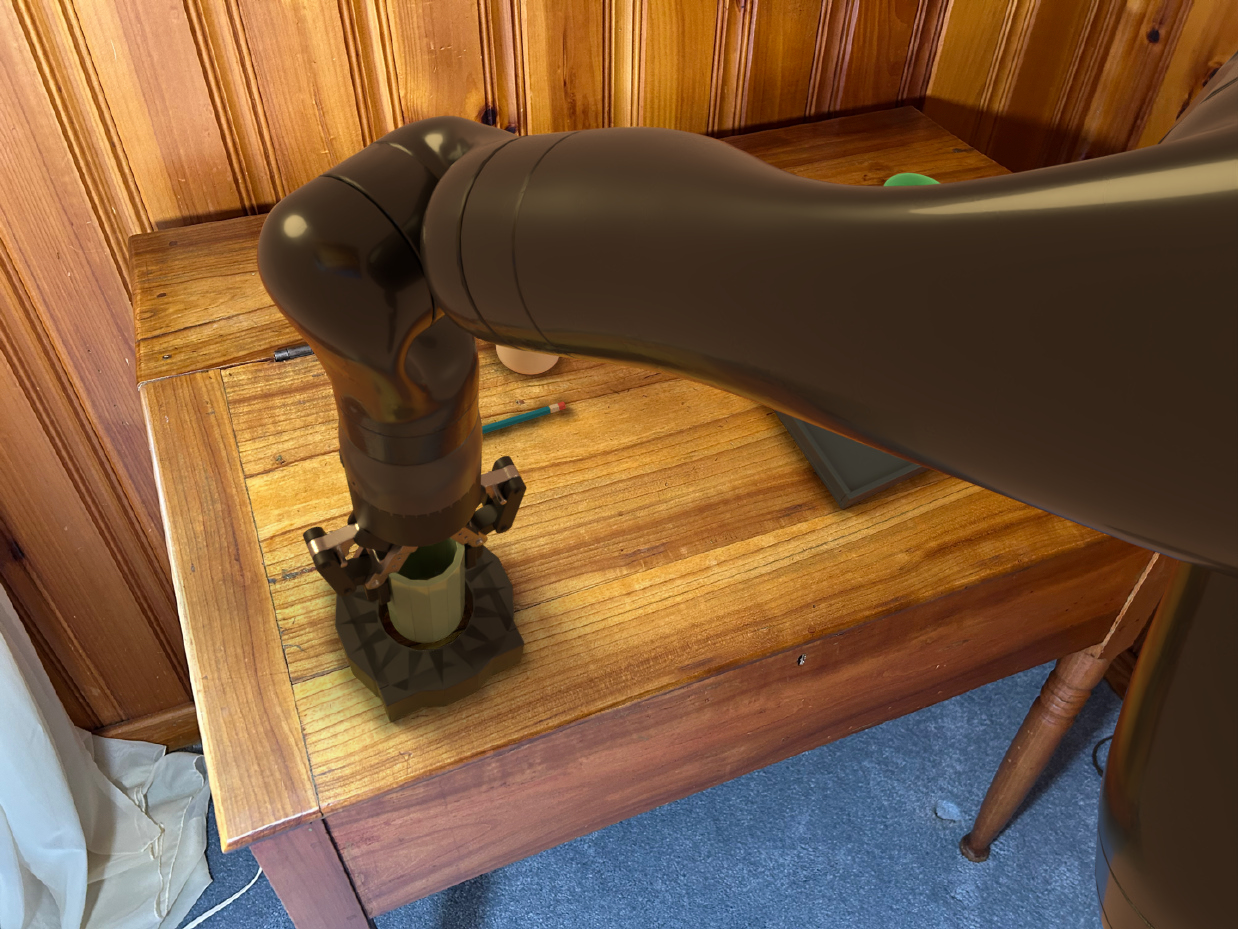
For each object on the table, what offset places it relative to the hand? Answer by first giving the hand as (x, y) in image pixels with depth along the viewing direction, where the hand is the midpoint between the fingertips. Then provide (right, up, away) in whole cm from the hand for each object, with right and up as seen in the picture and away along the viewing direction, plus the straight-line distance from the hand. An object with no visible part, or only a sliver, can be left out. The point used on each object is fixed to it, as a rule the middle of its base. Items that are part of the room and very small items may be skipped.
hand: (424, 573), depth 65 cm
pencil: (+1, +10, +19) cm, 21 cm away
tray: (+36, +13, +26) cm, 46 cm away
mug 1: (+6, +19, +25) cm, 32 cm away
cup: (-1, -3, +6) cm, 7 cm away
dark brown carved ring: (-2, -5, +9) cm, 11 cm away
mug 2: (+44, +30, +38) cm, 65 cm away
